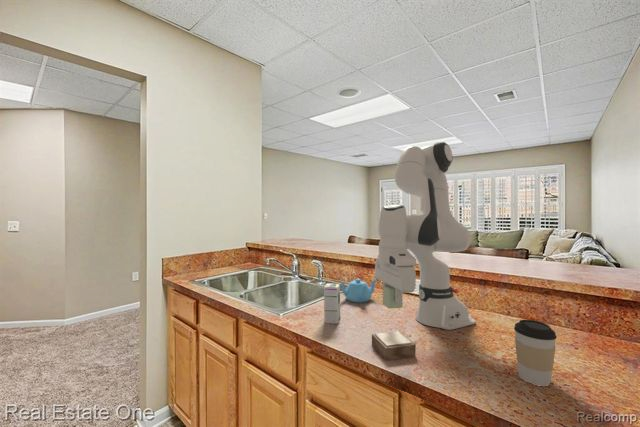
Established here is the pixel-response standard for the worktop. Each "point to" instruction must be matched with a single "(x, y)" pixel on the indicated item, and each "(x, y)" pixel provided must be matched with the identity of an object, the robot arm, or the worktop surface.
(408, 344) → the plinth
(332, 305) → the syrup box
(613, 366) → the worktop surface
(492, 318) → the worktop surface
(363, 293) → the teapot
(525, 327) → the coffee cup
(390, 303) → the sage block
